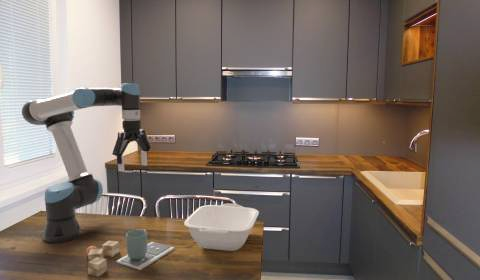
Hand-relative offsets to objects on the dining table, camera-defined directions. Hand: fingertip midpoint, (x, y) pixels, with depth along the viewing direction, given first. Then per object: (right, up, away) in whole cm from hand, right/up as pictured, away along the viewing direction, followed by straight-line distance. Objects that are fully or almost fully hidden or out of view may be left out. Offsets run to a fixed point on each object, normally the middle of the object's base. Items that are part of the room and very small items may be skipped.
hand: (133, 168), depth 156 cm
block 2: (-5, -31, -27) cm, 42 cm away
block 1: (-8, -35, -19) cm, 41 cm away
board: (+9, -34, -14) cm, 38 cm away
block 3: (-5, -34, -12) cm, 36 cm away
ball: (-12, -34, -14) cm, 39 cm away
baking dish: (+40, -33, -2) cm, 51 cm away
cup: (+7, -33, -18) cm, 39 cm away
